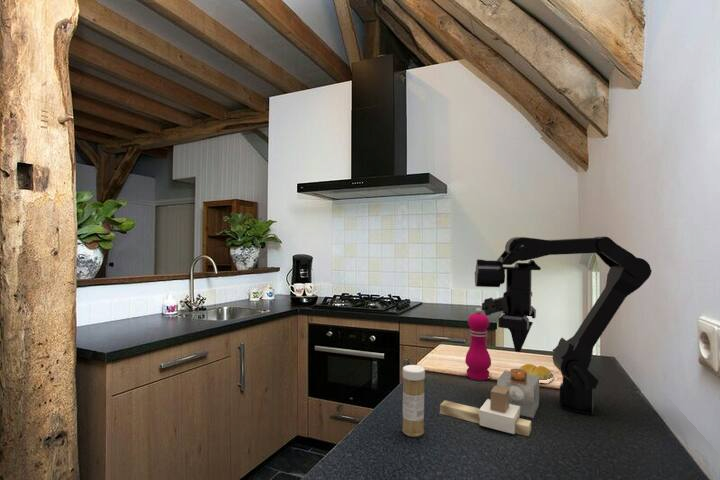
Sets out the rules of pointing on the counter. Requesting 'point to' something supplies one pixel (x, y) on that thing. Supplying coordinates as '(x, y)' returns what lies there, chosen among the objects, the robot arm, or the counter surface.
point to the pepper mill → (478, 347)
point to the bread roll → (537, 371)
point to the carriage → (499, 411)
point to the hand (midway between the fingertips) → (517, 351)
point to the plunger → (518, 374)
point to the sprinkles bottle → (413, 400)
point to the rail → (473, 416)
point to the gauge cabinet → (522, 392)
